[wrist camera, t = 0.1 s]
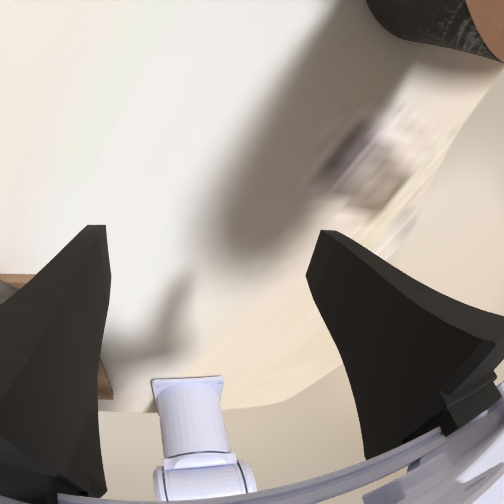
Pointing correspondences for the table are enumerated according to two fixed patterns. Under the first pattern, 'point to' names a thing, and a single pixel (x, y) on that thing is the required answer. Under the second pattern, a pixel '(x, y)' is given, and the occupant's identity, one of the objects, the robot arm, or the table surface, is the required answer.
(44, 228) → the table surface
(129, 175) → the table surface
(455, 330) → the robot arm
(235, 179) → the table surface
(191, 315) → the table surface
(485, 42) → the travel mug
